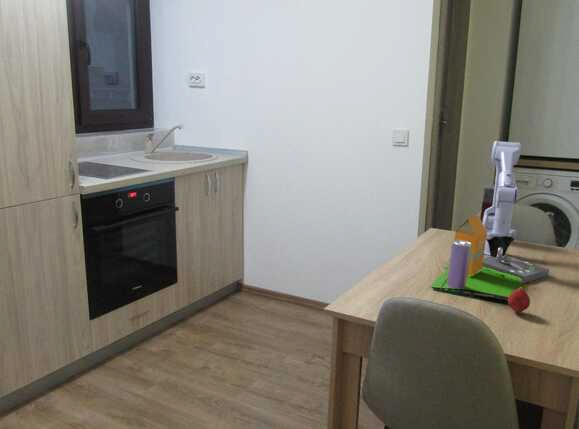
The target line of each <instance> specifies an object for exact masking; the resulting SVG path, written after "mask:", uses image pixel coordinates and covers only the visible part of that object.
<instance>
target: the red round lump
mask: <svg viewBox="0 0 579 429" xmlns="http://www.w3.org/2000/svg"><path fill="white" fill-rule="evenodd" d="M507 302H508V306H509V308H510V309H511V310H513V311H514V313H515V314H519V313H522V312H524V311H526V310H527V309H528V308H529V307H530V306H531V305H530V304H531V299H530V296H529V294H528V293H527V292H526V291H525V290H524V287H522V286H520V287H519V288H517V289H514V290H513V291H512V292H511V293H510V294H509V295H508V298H507Z"/></svg>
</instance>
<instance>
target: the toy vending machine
mask: <svg viewBox="0 0 579 429" xmlns="http://www.w3.org/2000/svg"><path fill="white" fill-rule="evenodd" d="M495 180H496V176H495V178H494V182H493V183H494V184H490V183H489V184H487V185H486V186H485V187H484V190H483V194H482V195H483V196H482V202H481V209H480V215H479V217H480V219H481V221H482V223H483V217H484V212H485V210H486V209H488V208H490V207H492V206H493V197H494V189H495ZM491 215H495V214H491Z"/></svg>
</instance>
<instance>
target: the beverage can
mask: <svg viewBox="0 0 579 429" xmlns="http://www.w3.org/2000/svg"><path fill="white" fill-rule="evenodd" d="M471 248H472V247H471V243H470V242H467V241H463V240H455V239H453V241H452V244H451V250H450V256H449V264H448V271H447V277H446V278H447V279H446V285H447V287H448V288H449V287H450V289H451V288H452V290H455V289H457V290H456V291H460V290H459V289H463V290H464V289H465V288H467V283H468V277H467V275H468V269H469V262H470V255H471Z"/></svg>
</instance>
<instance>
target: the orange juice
mask: <svg viewBox="0 0 579 429" xmlns="http://www.w3.org/2000/svg"><path fill="white" fill-rule="evenodd" d="M486 237H487V232H486V230H485V228H484V225H483V223H482V221H481V219H480V215H475V216H472V217H469V218H467V219H466V220H465V221H464V222H463V223H462V224H461V225H460V226H459V227H458V228H457V229H456V231H455V234H454V240H463V241H467V242H470V243H471V247H472V248H471V255H470V262H469V269H468V275H472V274H474V273H476V272H478V271H479V270H481V269H482V263H483V258H485V257H484V256H485V254H484V251H485V243H486ZM482 270H483V269H482ZM482 270H481V271H482Z"/></svg>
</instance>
